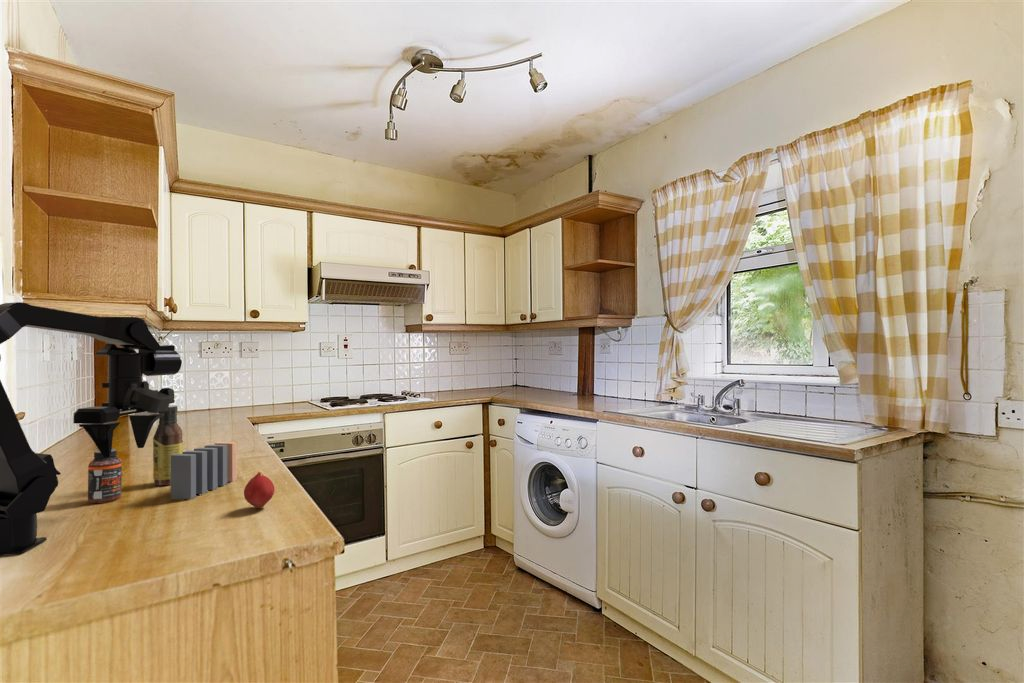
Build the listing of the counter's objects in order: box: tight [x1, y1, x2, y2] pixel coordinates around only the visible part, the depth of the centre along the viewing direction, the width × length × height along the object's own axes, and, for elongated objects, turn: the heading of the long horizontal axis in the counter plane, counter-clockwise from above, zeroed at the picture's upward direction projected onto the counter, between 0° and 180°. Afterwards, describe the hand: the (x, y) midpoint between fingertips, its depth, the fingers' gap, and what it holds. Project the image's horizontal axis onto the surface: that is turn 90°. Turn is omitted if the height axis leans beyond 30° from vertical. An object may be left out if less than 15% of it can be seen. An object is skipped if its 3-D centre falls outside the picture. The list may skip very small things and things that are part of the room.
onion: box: [243, 470, 276, 509], centre depth 106 cm, size 6×6×8 cm
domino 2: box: [183, 450, 208, 496], centre depth 117 cm, size 2×5×10 cm, turn 84°
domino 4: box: [203, 444, 228, 487], centre depth 124 cm, size 2×5×10 cm, turn 83°
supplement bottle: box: [87, 448, 123, 504], centre depth 113 cm, size 6×6×11 cm
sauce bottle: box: [152, 404, 184, 486], centre depth 126 cm, size 7×6×20 cm
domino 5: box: [213, 441, 238, 483], centre depth 128 cm, size 2×5×10 cm, turn 83°
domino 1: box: [170, 454, 197, 500], centre depth 114 cm, size 2×5×10 cm, turn 84°
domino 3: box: [193, 447, 219, 491], centre depth 121 cm, size 2×5×10 cm, turn 83°
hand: (124, 452), depth 103 cm, fingers open, 9 cm apart
